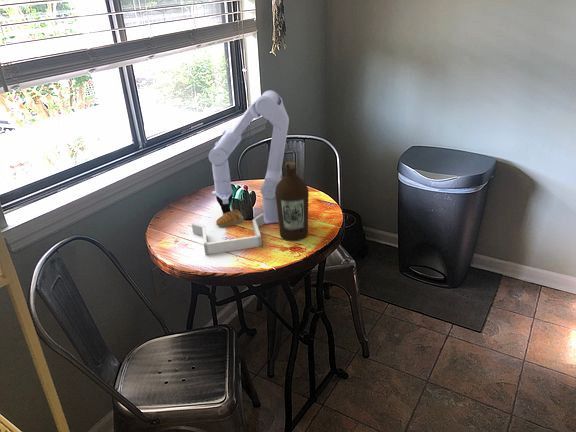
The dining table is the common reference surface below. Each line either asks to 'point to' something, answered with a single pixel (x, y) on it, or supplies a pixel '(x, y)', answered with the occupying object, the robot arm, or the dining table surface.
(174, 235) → the dining table surface
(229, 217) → the pastry
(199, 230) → the box
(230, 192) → the robot arm
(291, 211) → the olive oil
